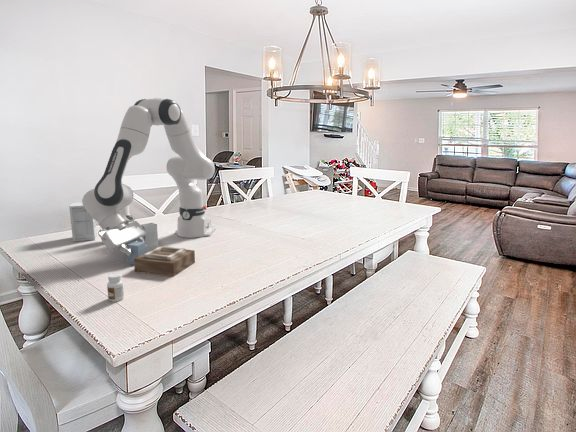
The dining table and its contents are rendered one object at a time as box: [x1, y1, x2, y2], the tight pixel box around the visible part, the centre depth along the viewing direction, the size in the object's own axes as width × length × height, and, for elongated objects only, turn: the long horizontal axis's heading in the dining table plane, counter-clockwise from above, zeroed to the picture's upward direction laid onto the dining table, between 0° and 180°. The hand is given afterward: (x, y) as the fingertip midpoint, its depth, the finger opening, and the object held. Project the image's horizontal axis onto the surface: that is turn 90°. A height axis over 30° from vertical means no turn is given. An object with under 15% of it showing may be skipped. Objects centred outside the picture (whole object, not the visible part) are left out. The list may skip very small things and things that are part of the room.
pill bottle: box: [106, 273, 125, 303], centre depth 117 cm, size 4×4×8 cm
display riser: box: [133, 245, 196, 277], centre depth 146 cm, size 16×16×6 cm
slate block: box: [126, 241, 146, 265], centre depth 151 cm, size 5×5×8 cm
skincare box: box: [140, 222, 159, 253], centre depth 163 cm, size 6×4×12 cm
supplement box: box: [69, 201, 98, 243], centre depth 180 cm, size 10×9×17 cm
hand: (138, 251), depth 150 cm, fingers open, 8 cm apart
